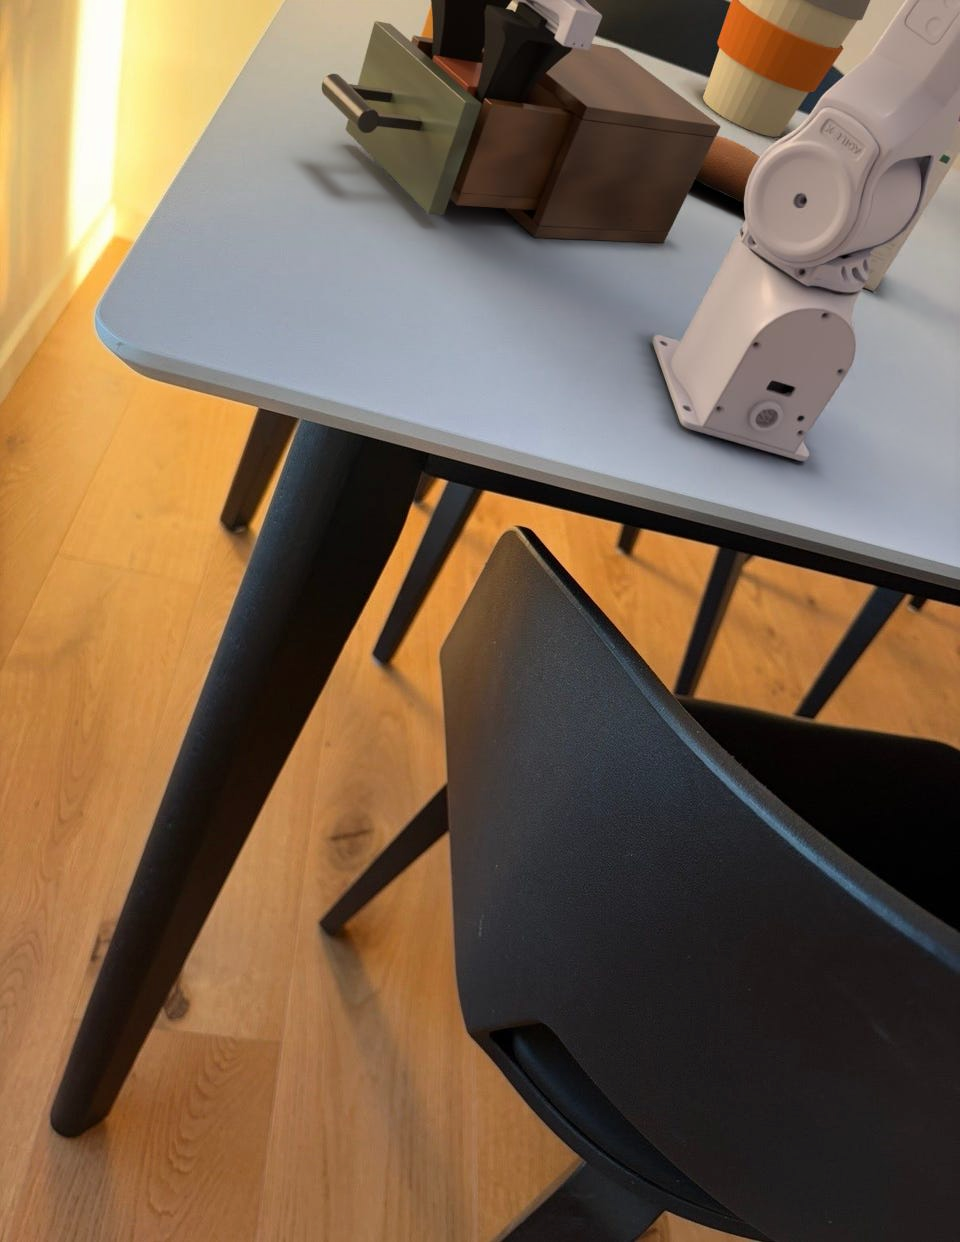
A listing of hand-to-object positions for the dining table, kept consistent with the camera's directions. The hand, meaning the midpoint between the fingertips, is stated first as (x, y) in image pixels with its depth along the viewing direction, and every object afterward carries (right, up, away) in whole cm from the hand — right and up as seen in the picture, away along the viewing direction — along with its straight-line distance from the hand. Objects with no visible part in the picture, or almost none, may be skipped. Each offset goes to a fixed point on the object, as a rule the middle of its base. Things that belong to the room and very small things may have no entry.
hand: (463, 115), depth 69 cm
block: (-1, -1, +1) cm, 1 cm away
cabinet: (+6, -1, +9) cm, 11 cm away
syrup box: (+30, -3, +21) cm, 37 cm away
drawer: (-2, -3, +2) cm, 4 cm away
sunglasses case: (+17, +6, +24) cm, 30 cm away
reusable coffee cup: (+28, +21, +46) cm, 57 cm away
